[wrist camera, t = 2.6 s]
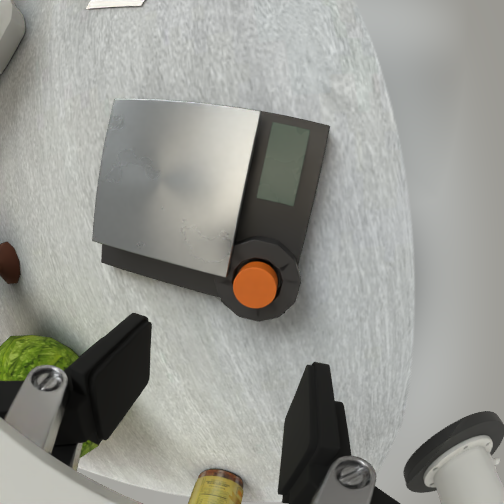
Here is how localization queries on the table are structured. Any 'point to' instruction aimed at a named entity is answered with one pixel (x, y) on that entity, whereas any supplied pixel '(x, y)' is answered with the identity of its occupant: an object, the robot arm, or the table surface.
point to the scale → (252, 232)
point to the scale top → (187, 178)
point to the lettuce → (35, 361)
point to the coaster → (113, 3)
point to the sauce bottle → (217, 488)
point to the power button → (255, 285)
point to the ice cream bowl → (9, 264)
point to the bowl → (9, 31)
